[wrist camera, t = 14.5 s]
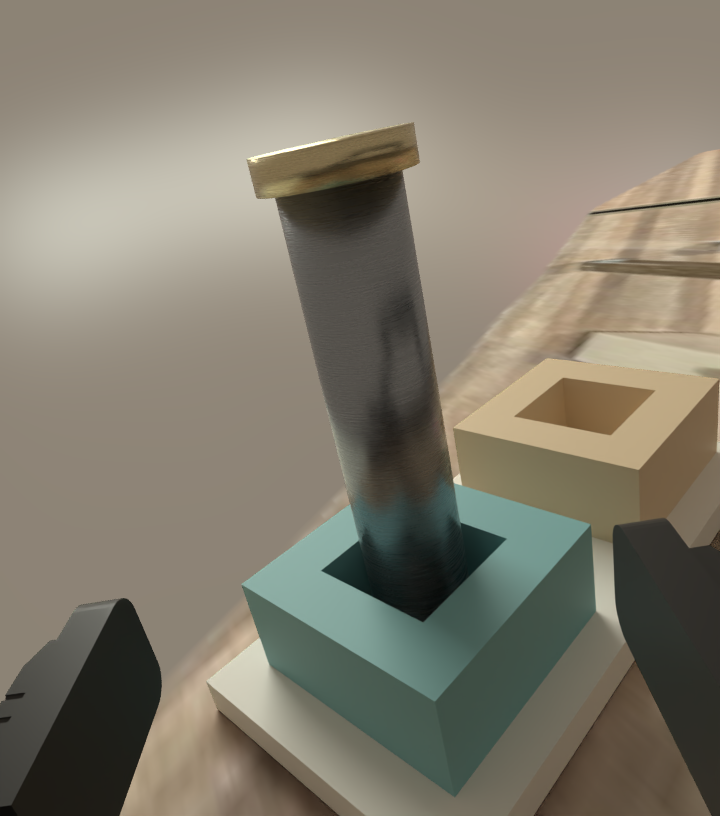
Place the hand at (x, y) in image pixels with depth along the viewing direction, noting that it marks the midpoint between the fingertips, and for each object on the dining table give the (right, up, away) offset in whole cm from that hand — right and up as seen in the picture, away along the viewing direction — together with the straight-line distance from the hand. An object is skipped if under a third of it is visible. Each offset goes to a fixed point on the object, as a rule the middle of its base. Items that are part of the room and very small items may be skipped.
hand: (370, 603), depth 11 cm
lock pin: (+3, -6, +14) cm, 15 cm away
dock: (+7, -4, +18) cm, 20 cm away
